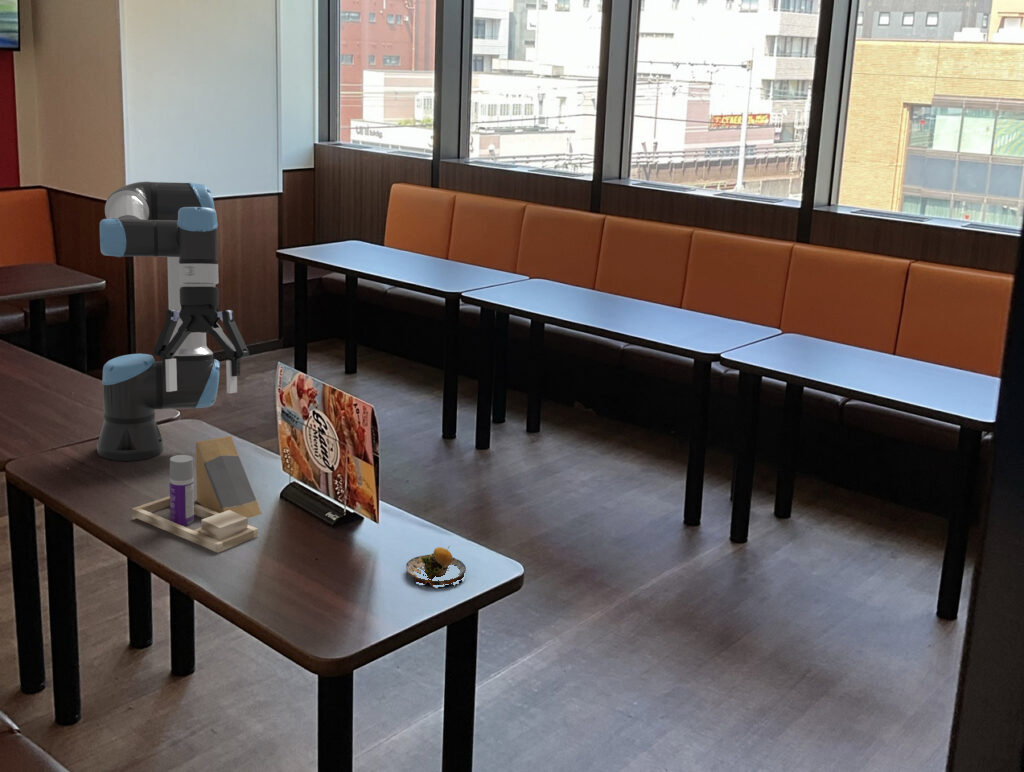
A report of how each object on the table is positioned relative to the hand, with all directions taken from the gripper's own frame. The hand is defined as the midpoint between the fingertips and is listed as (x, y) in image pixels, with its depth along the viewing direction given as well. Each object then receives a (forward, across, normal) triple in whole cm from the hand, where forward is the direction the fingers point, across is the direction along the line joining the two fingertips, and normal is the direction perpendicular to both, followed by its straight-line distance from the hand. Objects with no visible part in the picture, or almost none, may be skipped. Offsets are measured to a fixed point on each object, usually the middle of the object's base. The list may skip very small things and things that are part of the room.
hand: (201, 392), depth 216 cm
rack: (+29, -3, +1) cm, 29 cm away
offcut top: (+27, +6, -2) cm, 28 cm away
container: (+28, -6, +2) cm, 29 cm away
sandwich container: (+28, -1, +12) cm, 30 cm away
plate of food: (+35, +48, +3) cm, 60 cm away
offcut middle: (+29, +6, -2) cm, 29 cm away
